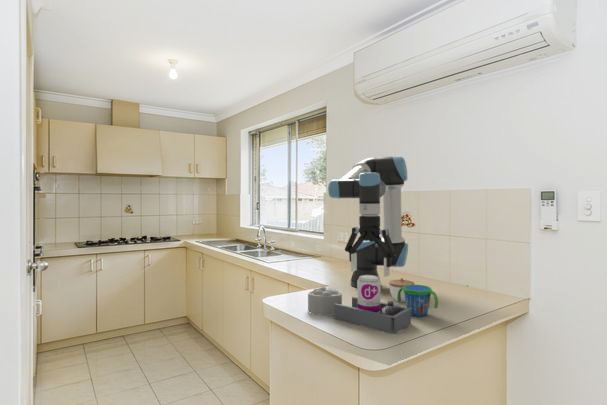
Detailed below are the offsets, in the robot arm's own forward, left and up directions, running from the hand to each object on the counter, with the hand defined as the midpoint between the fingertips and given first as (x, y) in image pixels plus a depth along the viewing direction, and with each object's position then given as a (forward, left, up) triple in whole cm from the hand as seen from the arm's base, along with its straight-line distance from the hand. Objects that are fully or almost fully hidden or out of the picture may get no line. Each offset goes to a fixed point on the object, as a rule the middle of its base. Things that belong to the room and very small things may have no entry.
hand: (369, 273), depth 135 cm
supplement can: (0, 0, -17) cm, 17 cm away
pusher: (+8, 0, -16) cm, 18 cm away
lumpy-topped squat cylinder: (-20, -1, -18) cm, 27 cm away
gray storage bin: (+1, 0, -17) cm, 17 cm away
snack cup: (+10, +19, -18) cm, 27 cm away
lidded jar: (-3, +33, -18) cm, 37 cm away
